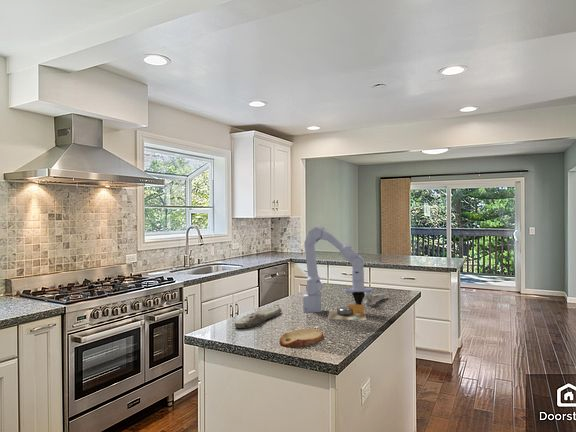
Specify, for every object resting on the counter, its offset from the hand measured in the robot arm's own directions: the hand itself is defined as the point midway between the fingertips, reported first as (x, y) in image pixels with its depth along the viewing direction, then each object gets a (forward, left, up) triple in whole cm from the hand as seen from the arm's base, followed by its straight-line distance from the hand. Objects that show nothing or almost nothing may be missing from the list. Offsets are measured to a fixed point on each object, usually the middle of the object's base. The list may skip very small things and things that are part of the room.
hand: (358, 307), depth 193 cm
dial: (-4, -4, -2) cm, 6 cm away
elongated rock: (-47, -15, -4) cm, 50 cm away
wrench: (+10, +28, -4) cm, 30 cm away
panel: (-6, -5, -4) cm, 8 cm away
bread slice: (-23, -43, -4) cm, 48 cm away
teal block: (-2, -13, -3) cm, 13 cm away
